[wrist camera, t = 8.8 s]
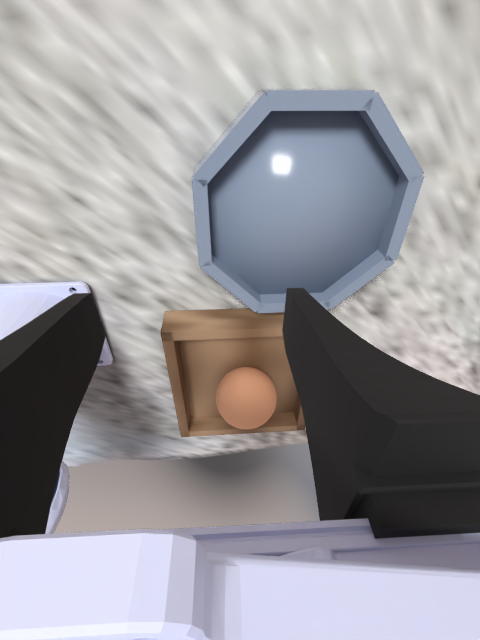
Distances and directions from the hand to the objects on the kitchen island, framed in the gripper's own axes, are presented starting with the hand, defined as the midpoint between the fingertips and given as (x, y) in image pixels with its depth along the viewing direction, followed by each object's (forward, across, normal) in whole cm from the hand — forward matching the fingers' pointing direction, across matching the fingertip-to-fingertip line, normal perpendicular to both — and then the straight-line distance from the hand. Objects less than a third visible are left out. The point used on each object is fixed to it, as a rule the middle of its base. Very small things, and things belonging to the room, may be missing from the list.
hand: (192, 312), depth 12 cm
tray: (+10, -2, +14) cm, 17 cm away
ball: (+7, -3, +14) cm, 16 cm away
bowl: (+10, -6, 0) cm, 12 cm away
